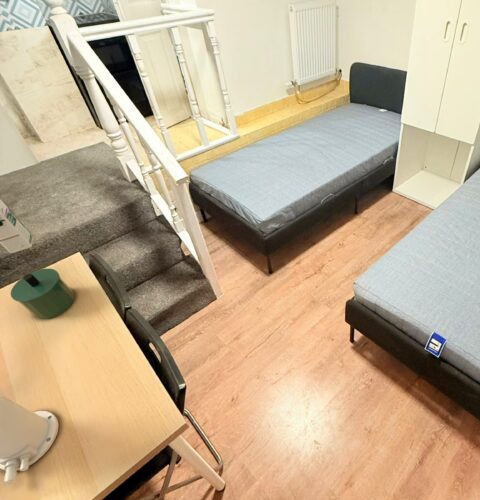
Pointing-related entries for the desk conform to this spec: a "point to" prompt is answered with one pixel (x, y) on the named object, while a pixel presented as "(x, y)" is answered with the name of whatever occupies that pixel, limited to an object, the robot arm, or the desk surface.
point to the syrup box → (13, 231)
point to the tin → (51, 302)
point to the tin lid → (35, 285)
